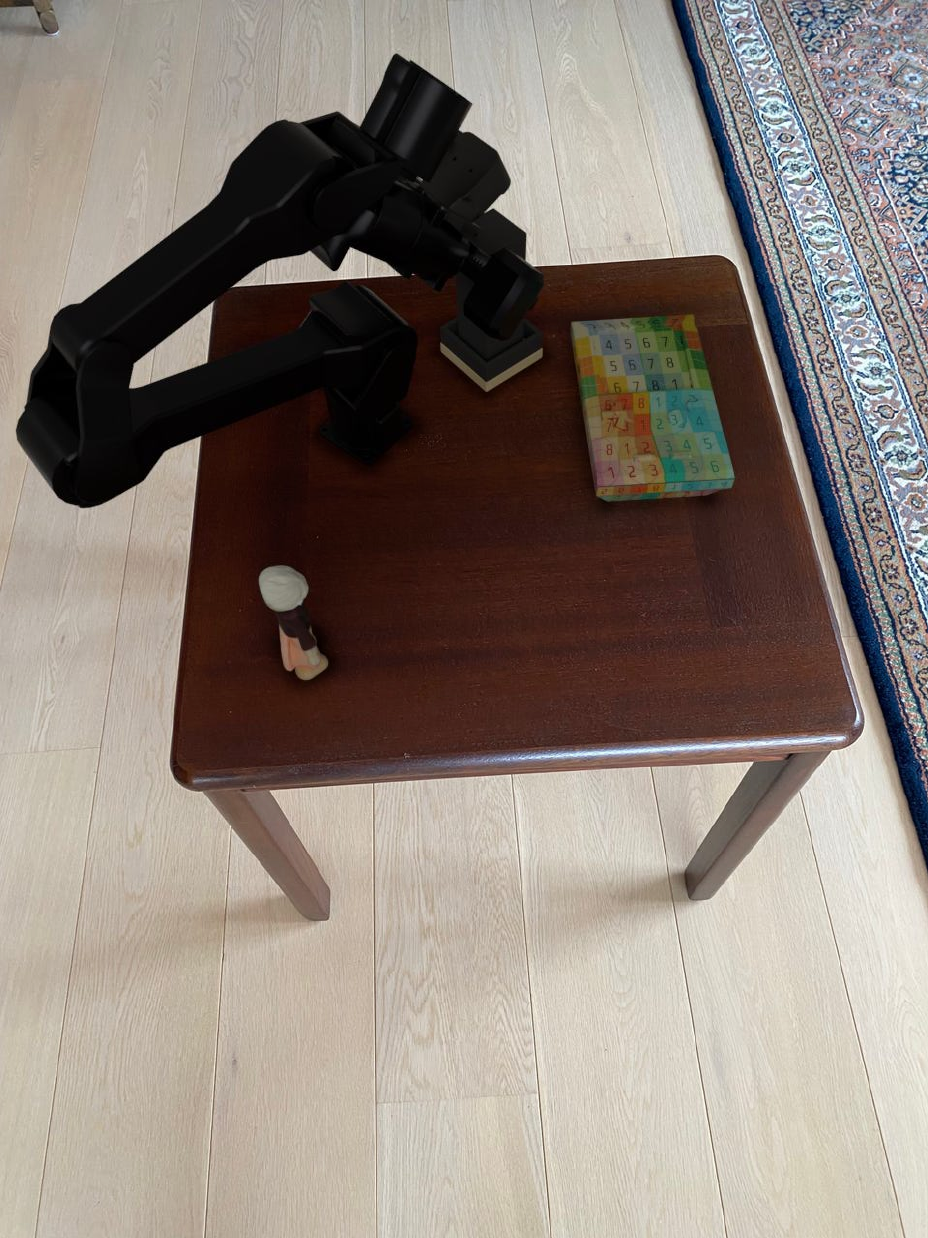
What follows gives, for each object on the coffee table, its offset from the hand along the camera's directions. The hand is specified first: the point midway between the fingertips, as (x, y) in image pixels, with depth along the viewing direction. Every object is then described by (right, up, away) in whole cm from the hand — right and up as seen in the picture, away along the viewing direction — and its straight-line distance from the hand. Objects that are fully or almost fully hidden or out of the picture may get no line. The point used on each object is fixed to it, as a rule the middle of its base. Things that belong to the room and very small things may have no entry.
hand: (501, 276), depth 84 cm
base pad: (-1, -5, +7) cm, 9 cm away
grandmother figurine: (-16, -35, -9) cm, 40 cm away
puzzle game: (+13, -13, +2) cm, 19 cm away
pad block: (-1, -4, +6) cm, 8 cm away
